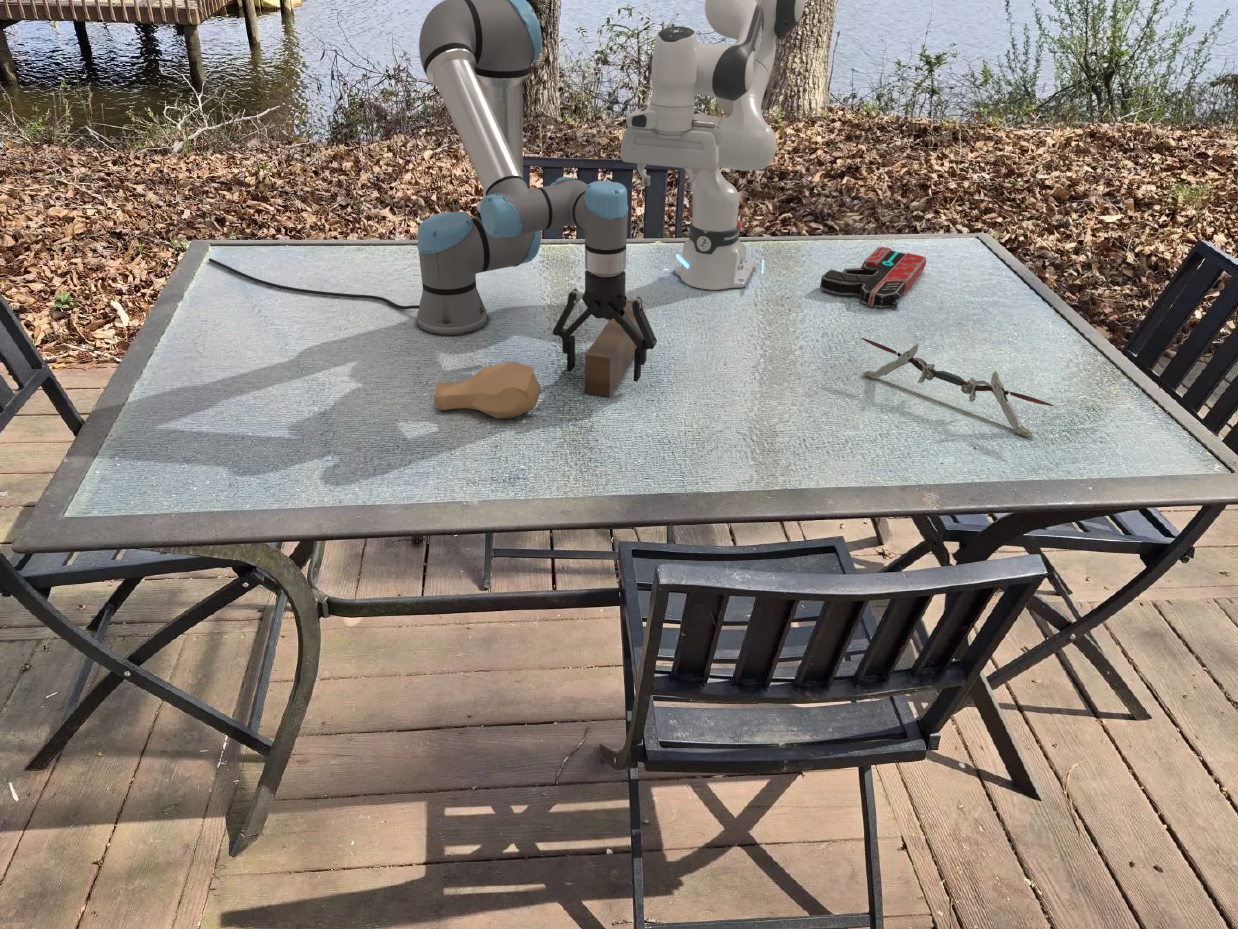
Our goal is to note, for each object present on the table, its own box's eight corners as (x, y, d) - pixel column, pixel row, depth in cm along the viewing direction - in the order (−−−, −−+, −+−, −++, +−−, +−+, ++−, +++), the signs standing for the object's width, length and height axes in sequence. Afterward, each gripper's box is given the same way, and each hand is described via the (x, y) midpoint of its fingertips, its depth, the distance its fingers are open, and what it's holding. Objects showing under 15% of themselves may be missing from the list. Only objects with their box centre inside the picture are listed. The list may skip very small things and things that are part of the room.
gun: (818, 277, 212) (896, 296, 205) (859, 239, 234) (931, 255, 227) (815, 294, 215) (892, 314, 207) (855, 255, 237) (927, 271, 229)
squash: (542, 425, 161) (533, 386, 155) (435, 433, 163) (423, 395, 156) (546, 387, 169) (538, 350, 163) (444, 396, 170) (432, 359, 164)
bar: (609, 397, 170) (610, 358, 165) (584, 393, 171) (585, 354, 166) (642, 342, 191) (644, 306, 186) (620, 339, 192) (621, 303, 187)
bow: (1043, 439, 161) (1060, 391, 155) (1040, 443, 160) (1056, 395, 154) (857, 369, 182) (866, 325, 177) (852, 372, 181) (861, 327, 175)
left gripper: (676, 271, 161) (669, 374, 173) (548, 255, 166) (550, 356, 178) (666, 285, 155) (660, 391, 167) (534, 268, 160) (537, 372, 172)
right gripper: (725, 119, 176) (719, 188, 184) (627, 110, 180) (625, 178, 188) (719, 125, 171) (713, 196, 179) (619, 116, 175) (617, 186, 183)
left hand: (603, 373), depth 172 cm, fingers open, 13 cm apart
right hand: (667, 187), depth 183 cm, fingers open, 8 cm apart
